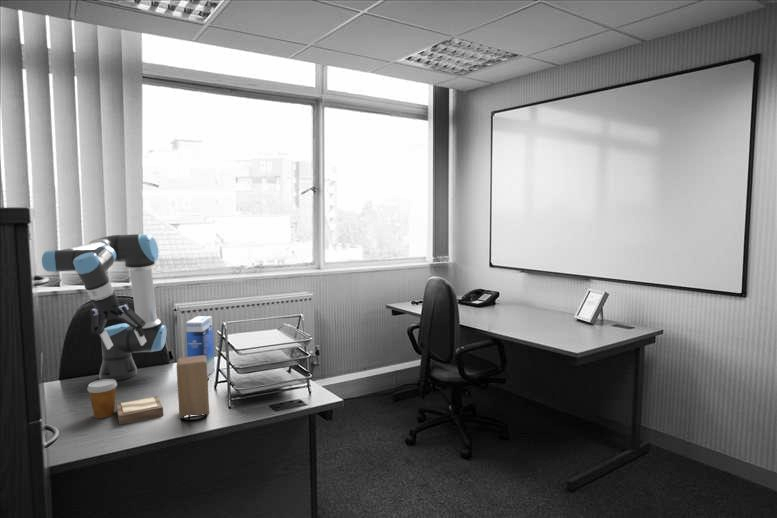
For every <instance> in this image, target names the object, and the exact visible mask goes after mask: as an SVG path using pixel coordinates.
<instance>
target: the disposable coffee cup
mask: <svg viewBox="0 0 777 518" xmlns="http://www.w3.org/2000/svg"><path fill="white" fill-rule="evenodd" d="M117 387H118V382H117V381H115V380H114V379H103V380H100V379H99V380H98V379H97V380H95V381H91V382H89V384H88V385H87V387H86V390H87V392H88V393H89V397H90V403H91V407H92V411H93V416H94V418H95V419H105V418H108V417H111V416H113V415H114V414H115V409H116V406H115V405H116V394H117V393H116V392H117Z"/></svg>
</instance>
